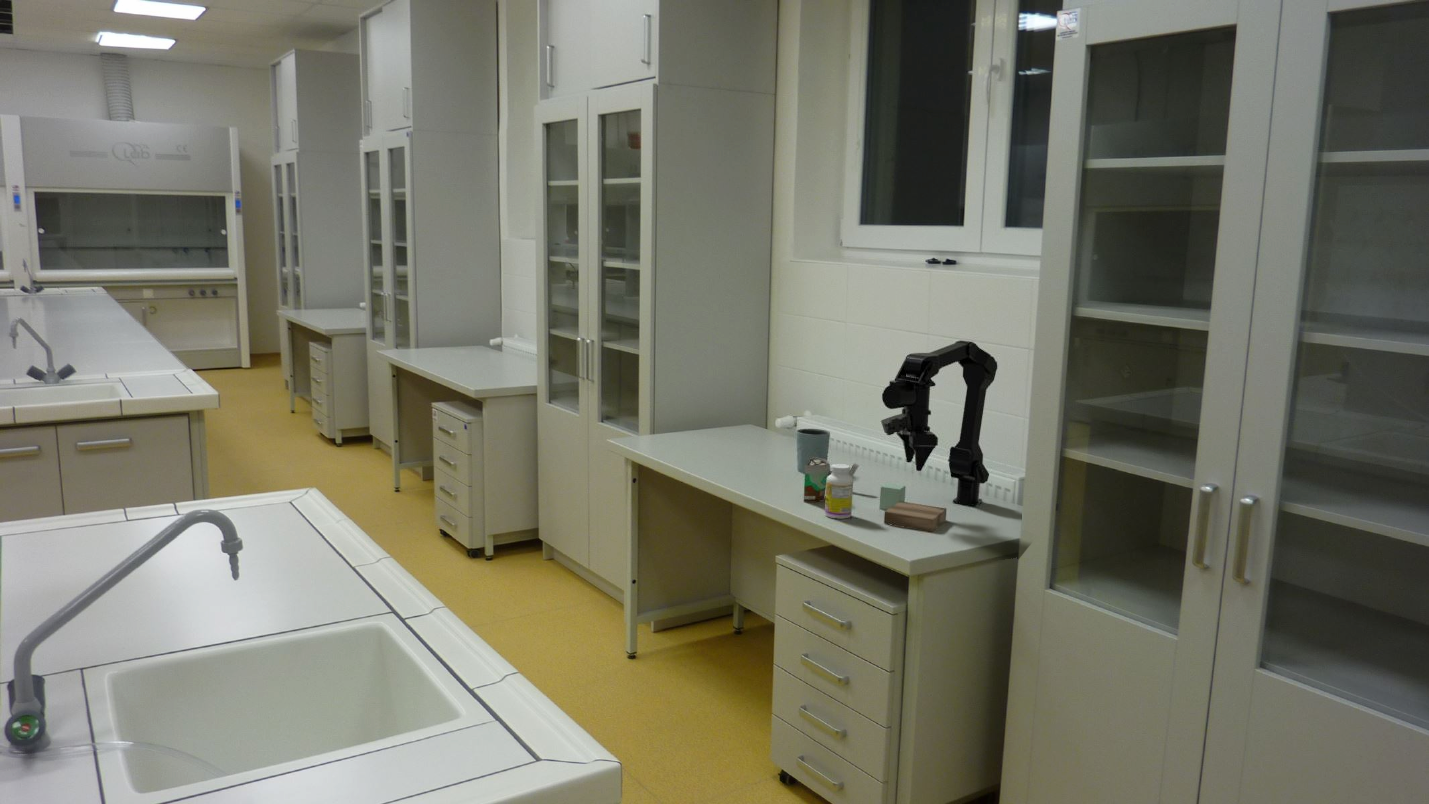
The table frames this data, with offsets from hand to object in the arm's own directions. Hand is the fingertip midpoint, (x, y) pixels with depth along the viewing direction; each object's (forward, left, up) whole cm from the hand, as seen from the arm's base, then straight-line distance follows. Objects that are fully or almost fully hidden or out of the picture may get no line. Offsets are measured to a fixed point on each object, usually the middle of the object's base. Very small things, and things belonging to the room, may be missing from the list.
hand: (913, 466), depth 253 cm
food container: (-2, -26, -13) cm, 29 cm away
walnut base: (+5, +3, -13) cm, 14 cm away
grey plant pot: (-31, -40, -13) cm, 53 cm away
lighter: (-14, -23, -13) cm, 30 cm away
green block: (-4, -6, -13) cm, 15 cm away
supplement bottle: (+11, -15, -13) cm, 23 cm away
